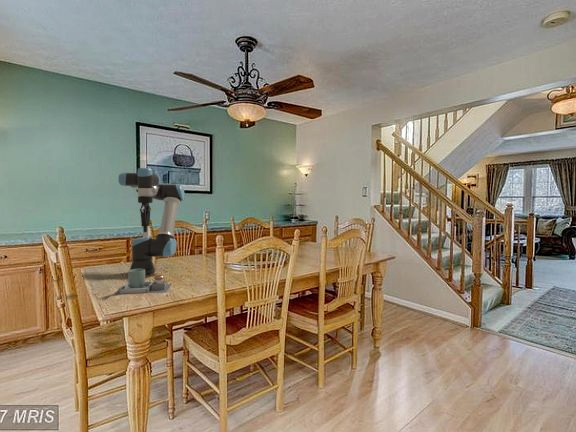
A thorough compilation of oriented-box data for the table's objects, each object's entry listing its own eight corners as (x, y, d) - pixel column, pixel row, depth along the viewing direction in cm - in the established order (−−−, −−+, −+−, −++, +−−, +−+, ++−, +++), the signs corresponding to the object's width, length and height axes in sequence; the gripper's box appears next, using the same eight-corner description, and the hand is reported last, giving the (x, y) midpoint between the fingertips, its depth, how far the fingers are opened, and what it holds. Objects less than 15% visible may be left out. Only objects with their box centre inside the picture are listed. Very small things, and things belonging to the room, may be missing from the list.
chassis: (128, 288, 172) (127, 279, 172) (172, 286, 176) (172, 278, 175) (117, 297, 156) (116, 287, 156) (166, 295, 160) (165, 286, 159)
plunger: (155, 286, 169) (155, 275, 168) (165, 285, 169) (165, 274, 169) (153, 288, 164) (153, 277, 164) (163, 288, 165) (162, 277, 164)
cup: (148, 288, 166) (148, 269, 166) (135, 292, 159) (134, 272, 159) (139, 286, 170) (138, 267, 169) (125, 289, 163) (125, 270, 163)
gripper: (149, 195, 172) (149, 239, 174) (155, 196, 185) (155, 236, 186) (134, 195, 171) (135, 239, 172) (141, 195, 184) (142, 236, 185)
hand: (146, 237), depth 179 cm, fingers closed
